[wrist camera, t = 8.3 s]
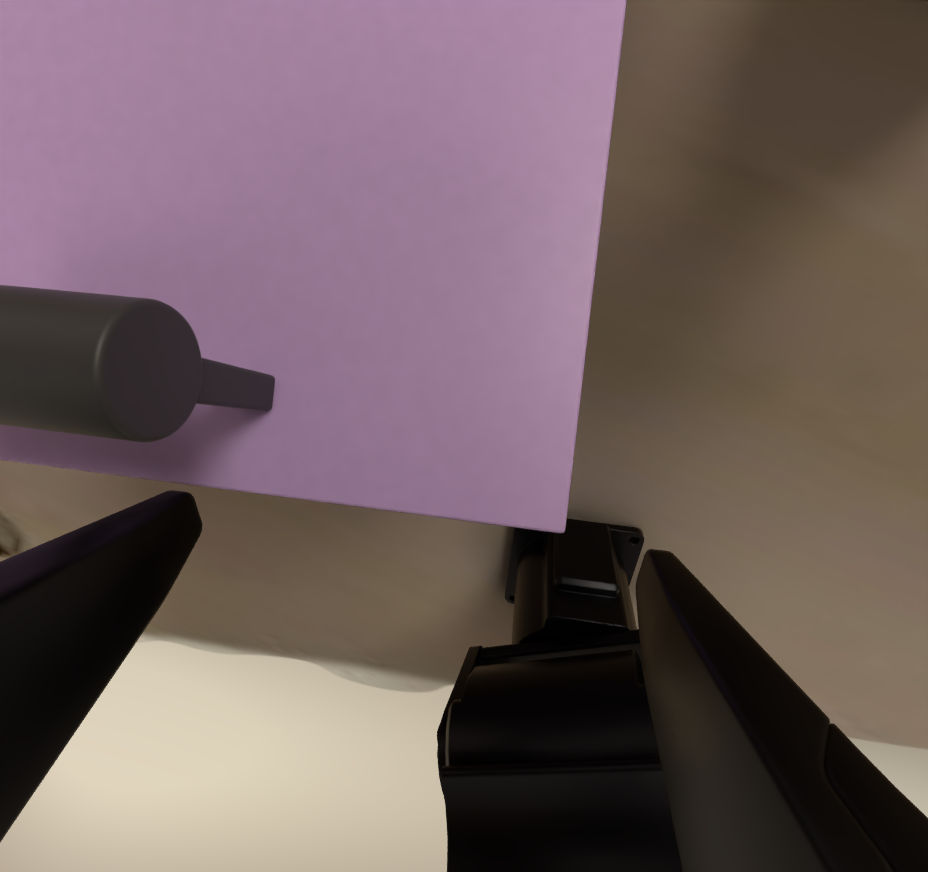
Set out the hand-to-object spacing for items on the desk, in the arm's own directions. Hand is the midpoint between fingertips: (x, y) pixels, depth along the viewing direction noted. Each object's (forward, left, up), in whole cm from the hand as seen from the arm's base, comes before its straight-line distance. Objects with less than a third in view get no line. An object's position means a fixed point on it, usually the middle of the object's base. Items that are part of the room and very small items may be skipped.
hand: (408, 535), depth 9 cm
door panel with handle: (+7, +5, -4) cm, 10 cm away
